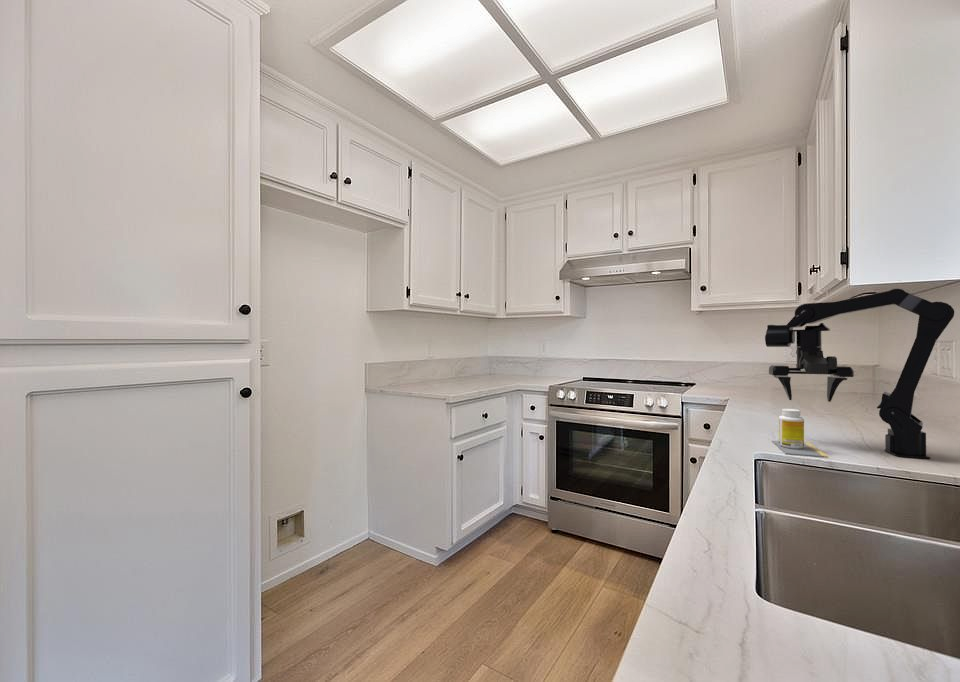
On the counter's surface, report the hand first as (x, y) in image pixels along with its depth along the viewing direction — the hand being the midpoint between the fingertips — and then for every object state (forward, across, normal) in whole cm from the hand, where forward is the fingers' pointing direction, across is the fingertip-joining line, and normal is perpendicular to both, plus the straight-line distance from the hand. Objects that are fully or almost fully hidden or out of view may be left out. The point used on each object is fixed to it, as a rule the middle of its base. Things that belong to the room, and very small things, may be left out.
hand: (809, 400), depth 122 cm
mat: (+12, -6, -10) cm, 17 cm away
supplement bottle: (+12, -7, -10) cm, 17 cm away
